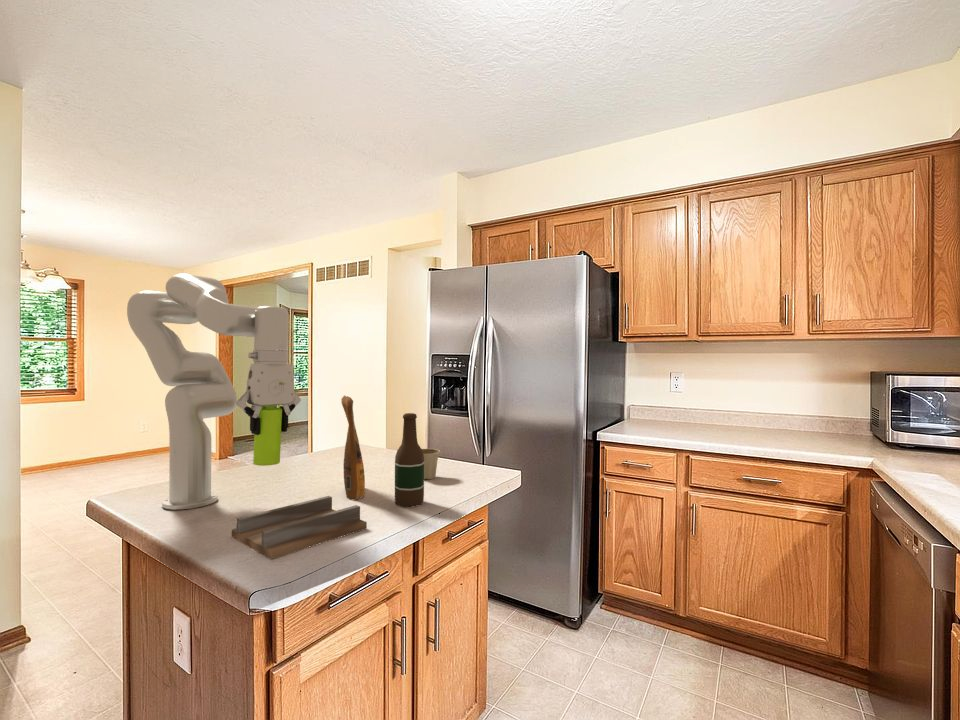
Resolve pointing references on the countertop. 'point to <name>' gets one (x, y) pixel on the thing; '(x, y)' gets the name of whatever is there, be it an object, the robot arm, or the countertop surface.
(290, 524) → the track board
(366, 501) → the countertop surface
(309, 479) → the countertop surface
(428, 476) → the flower pot
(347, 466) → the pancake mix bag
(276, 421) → the soap dispenser
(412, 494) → the beer bottle
